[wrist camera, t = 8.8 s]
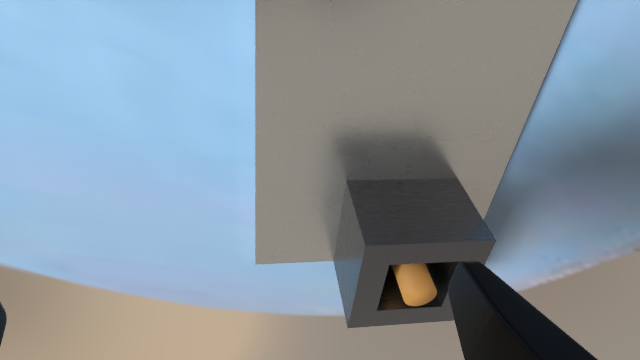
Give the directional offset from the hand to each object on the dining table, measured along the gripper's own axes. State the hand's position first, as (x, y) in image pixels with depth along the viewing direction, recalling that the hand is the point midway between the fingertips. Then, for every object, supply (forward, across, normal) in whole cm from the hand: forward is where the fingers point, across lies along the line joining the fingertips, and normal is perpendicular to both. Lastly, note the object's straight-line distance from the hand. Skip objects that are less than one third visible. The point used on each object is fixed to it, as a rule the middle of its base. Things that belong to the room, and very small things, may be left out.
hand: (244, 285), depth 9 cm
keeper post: (+12, -8, +10) cm, 17 cm away
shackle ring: (+11, -8, +10) cm, 17 cm away
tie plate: (+12, -7, +2) cm, 14 cm away
